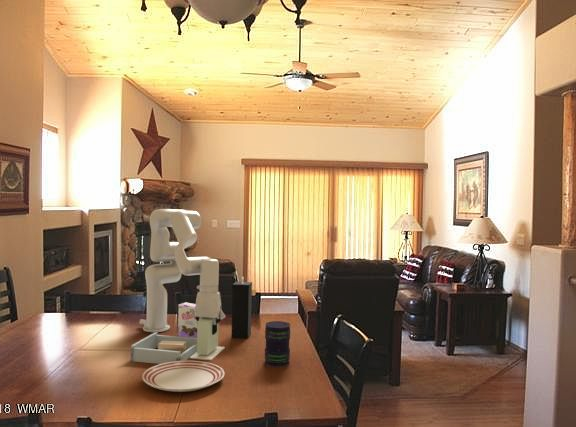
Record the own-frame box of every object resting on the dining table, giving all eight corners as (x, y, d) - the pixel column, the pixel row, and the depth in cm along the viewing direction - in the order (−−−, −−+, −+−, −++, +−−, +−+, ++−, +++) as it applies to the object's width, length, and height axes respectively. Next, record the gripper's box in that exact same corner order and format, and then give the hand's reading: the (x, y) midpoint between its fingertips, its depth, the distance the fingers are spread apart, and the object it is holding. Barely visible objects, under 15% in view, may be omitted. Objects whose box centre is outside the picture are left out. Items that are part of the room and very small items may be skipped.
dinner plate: (190, 362, 170) (191, 353, 170) (240, 381, 153) (241, 371, 153) (125, 383, 149) (125, 373, 149) (174, 407, 132) (175, 396, 132)
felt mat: (189, 358, 174) (189, 357, 174) (204, 346, 190) (204, 345, 190) (211, 360, 172) (211, 359, 172) (224, 347, 188) (224, 346, 188)
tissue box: (251, 333, 210) (252, 275, 210) (247, 338, 202) (249, 277, 202) (234, 333, 211) (236, 274, 210) (231, 337, 203) (232, 277, 203)
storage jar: (267, 368, 165) (268, 328, 165) (261, 359, 175) (262, 321, 175) (292, 366, 168) (293, 327, 168) (286, 357, 178) (286, 320, 177)
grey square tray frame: (130, 361, 170) (130, 345, 170) (154, 346, 188) (155, 332, 188) (179, 365, 166) (179, 349, 166) (198, 350, 184) (199, 335, 184)
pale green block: (196, 353, 176) (197, 321, 175) (207, 344, 187) (208, 314, 187) (207, 354, 175) (208, 322, 175) (218, 345, 187) (218, 315, 186)
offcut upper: (183, 352, 174) (183, 344, 174) (158, 351, 174) (158, 344, 174) (186, 349, 178) (186, 341, 178) (161, 348, 178) (161, 340, 178)
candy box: (176, 340, 197) (177, 304, 197) (185, 337, 202) (186, 301, 202) (201, 345, 190) (201, 307, 190) (209, 342, 196) (210, 305, 195)
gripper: (186, 289, 179) (185, 334, 179) (225, 291, 176) (224, 337, 176) (193, 286, 186) (192, 329, 186) (231, 288, 183) (230, 332, 183)
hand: (208, 332), depth 181 cm, fingers closed on pale green block, 4 cm apart
